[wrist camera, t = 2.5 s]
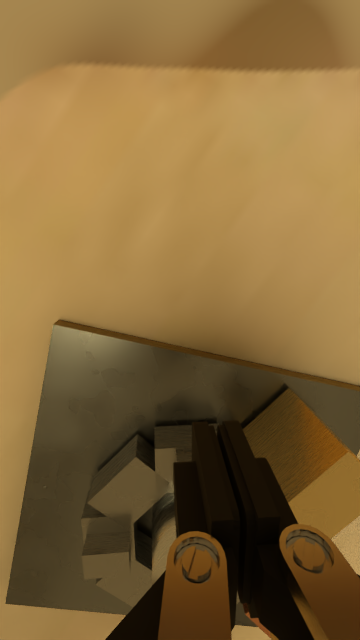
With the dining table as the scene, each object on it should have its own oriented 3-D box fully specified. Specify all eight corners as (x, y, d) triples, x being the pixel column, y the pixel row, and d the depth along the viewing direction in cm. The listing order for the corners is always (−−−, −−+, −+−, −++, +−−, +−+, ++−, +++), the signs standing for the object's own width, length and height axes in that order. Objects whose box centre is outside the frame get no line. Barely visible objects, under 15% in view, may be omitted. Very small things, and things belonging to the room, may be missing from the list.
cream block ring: (187, 606, 22) (198, 729, 16) (49, 518, 19) (7, 632, 13) (362, 459, 20) (442, 543, 14) (237, 337, 17) (277, 383, 12)
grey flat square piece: (273, 613, 25) (307, 716, 19) (11, 587, 22) (-34, 700, 16) (372, 388, 20) (450, 442, 15) (58, 319, 17) (16, 354, 12)
